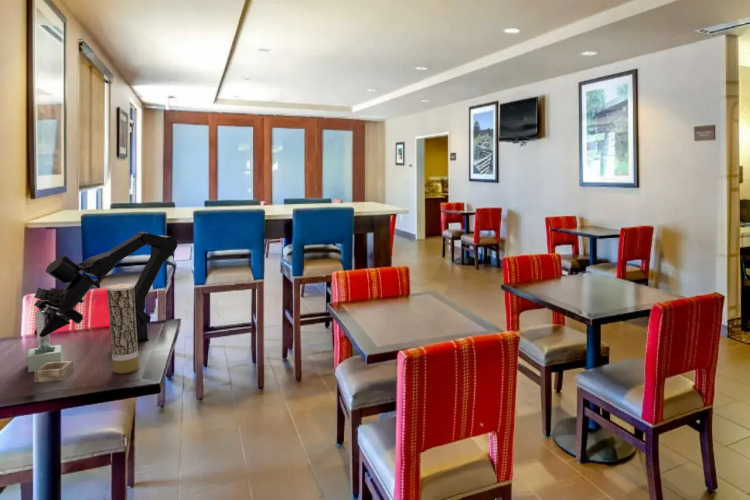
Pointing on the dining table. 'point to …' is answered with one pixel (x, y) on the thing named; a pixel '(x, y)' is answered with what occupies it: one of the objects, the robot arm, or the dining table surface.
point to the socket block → (43, 357)
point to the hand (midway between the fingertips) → (38, 335)
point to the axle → (40, 324)
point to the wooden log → (123, 328)
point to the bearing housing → (53, 371)
